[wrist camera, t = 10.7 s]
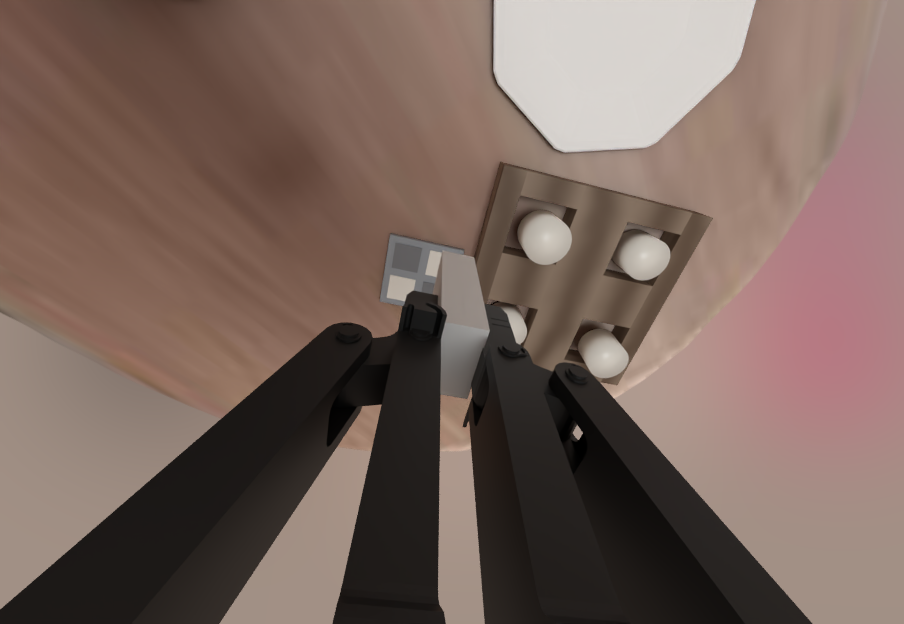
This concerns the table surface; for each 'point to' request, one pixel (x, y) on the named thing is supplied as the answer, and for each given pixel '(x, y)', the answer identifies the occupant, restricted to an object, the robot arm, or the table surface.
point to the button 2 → (544, 237)
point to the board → (580, 264)
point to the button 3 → (602, 353)
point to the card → (411, 267)
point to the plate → (613, 64)
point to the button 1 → (514, 320)
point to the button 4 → (641, 255)
